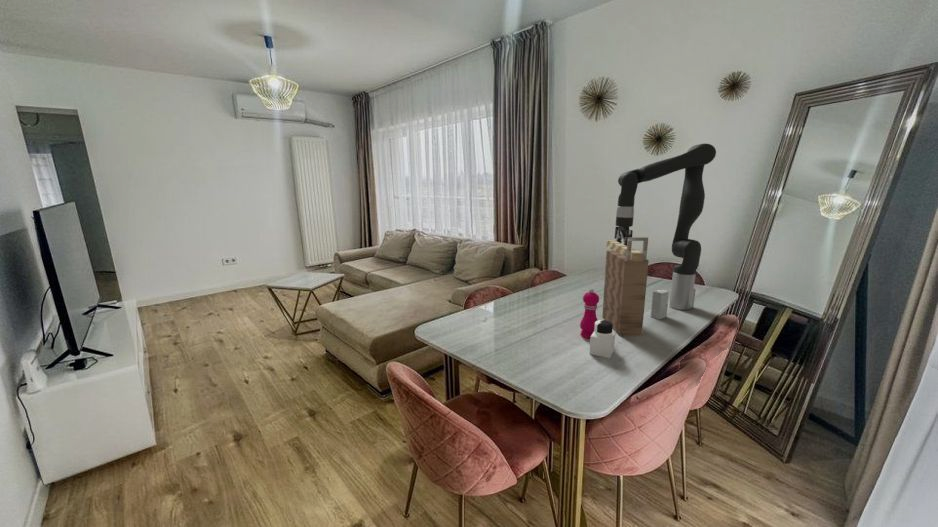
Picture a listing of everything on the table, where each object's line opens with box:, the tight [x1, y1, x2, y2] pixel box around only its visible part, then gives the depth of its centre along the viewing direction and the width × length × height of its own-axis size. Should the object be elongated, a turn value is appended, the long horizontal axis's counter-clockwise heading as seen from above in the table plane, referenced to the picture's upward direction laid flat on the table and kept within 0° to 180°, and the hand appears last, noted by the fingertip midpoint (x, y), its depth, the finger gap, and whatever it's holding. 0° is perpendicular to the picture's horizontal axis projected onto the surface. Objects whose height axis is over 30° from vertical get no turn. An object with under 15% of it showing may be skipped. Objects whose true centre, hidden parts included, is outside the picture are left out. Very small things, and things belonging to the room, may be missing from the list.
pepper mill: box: [579, 288, 600, 340], centre depth 142 cm, size 7×7×20 cm
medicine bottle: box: [589, 319, 616, 359], centre depth 130 cm, size 7×7×12 cm
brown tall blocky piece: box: [601, 236, 650, 337], centre depth 149 cm, size 20×9×40 cm, turn 179°
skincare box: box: [650, 288, 670, 320], centre depth 161 cm, size 6×4×12 cm
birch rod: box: [606, 239, 643, 261], centre depth 150 cm, size 30×3×3 cm, turn 179°
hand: (621, 249), depth 172 cm, fingers open, 8 cm apart
